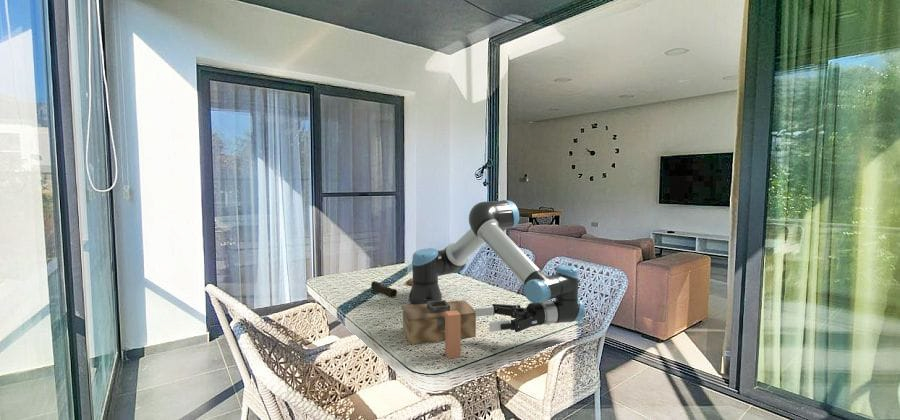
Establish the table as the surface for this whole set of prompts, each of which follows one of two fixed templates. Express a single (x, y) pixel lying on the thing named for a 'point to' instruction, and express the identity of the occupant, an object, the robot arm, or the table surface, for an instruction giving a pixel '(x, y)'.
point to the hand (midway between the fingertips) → (482, 319)
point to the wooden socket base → (436, 320)
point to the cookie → (410, 282)
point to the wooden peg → (452, 334)
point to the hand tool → (383, 289)
